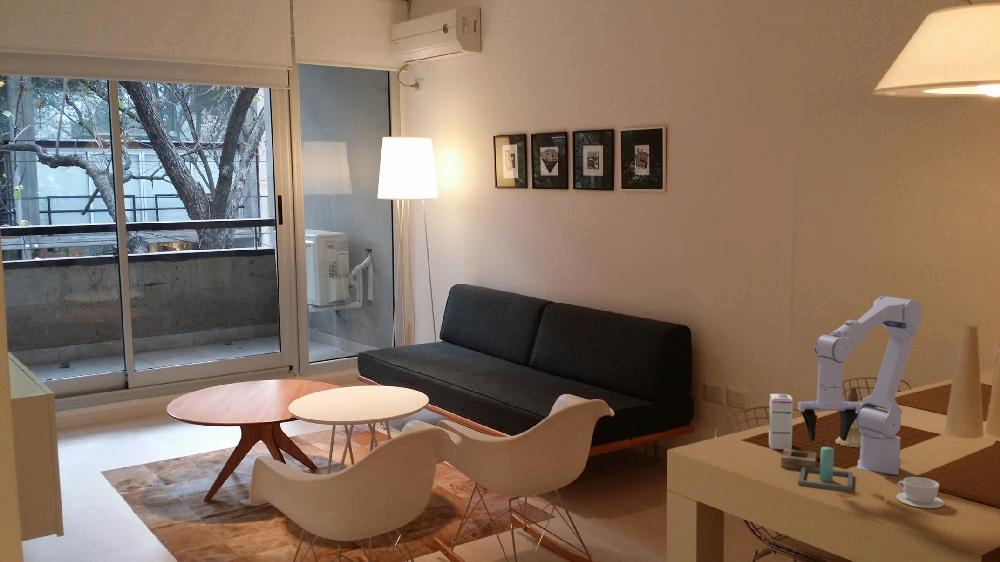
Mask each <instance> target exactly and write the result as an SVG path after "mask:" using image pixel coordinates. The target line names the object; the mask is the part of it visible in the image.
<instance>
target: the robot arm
mask: <svg viewBox="0 0 1000 562" xmlns="http://www.w3.org/2000/svg"><path fill="white" fill-rule="evenodd" d="M922 317H923V309H922V307H921V303H920V302H919V301H918V300H917V299H912V298H911V299H909V298H908V299H907V298H901V297H893V296H888V295H885V294H884V295H881V296H879V297H878V298H876V299H874V300H873V304H872V307H871V308H870V309H869V310H868V311H866V312H865V313H864V314H863V315H862V316H861V317H860V318H858V319H857V320H853V319H847V320H845V321H844V324H843V325H841V326H840V327H838V328H837V329H835V330H833V331H832V332H831V333H830V334H829V335H828V334H822V335H821V336H819V337H818V338H817V339H816V340H815V343H814V346H813V354H814V355H815V358H816V361H815V362H816V364H817V366H818V367H817V382H816V383H817V385H816V386H817V388H816V400H808V401H807V400H806V401H797V410H798V411H799V412H800V413H801V415H802V417H803V420H804V422H805V425H806V429H807V435H808V440H810V441H812V442H814V441H815V440H816V425H817V419H818V415H817V414H816V412H819V411H821V412H825V411H826V412H827V411H828V412H829V411H831V412H834V411H837V412H839V417H840V418H839V419H840V426H839V436H840V439H842V440H843V441H846V439H847V435H848V432H849V430H850V428H851V426H852V424H853V422H854V421H855V424H856V426H857V427H858V428H859V432H861V447H860V448H859V449H860V450H859V459H858V460H857V469H858V470H861V471H862V470H863V471H868V472H869V471H870V472H876V473H877V472H880V473H883V474H888V475H896V476H899V474H900V471H899V470H900V466H901V458H900V456H901V455H900V453H901V436H897V434H898V432H899V431H900V429H901V426H902V425H901V424H902V420H901V418H902V413H903V410H902V408H901V407H900V405H899V404H898V403H897V401H896V396H897V394H898V393H897V392H898V390H899V387H900V384H901V381H902V378H903V374H904V370H905V367H906V364H907V361H908V357H909V354H910V350H911V347H912V344H913V340H914V337H915V335H917V333H918V330H919V328H920V327H919V326H920V323H921V320H922ZM879 325H882V327H883V328H884V330H886V331H887V332H888V334H889V339H888V343H887V346H886V349H885V353H884V356H883V360H882V363H881V365H880V368H879V372H878V375H877V378H876V382H875V385H874V387H873V392H872V393H871V394H868V395H867V396H865V397H863V398H862V400H861V402H859V401H858V402H850V401H848V400H843V389H844V388H843V386H844V385H843V384H844V383H843V381H844V368H845V367H844V365H845V361H846V360H848V359H849V357H850V353H851V352H852V351H853V350H854V349H853V348H855V347H856V346H857V345H859V344H861V343H862V342H863V341H865V340H866V339H867V333H868V332H869V331H871V330H873V329H874V328H876V327H877V326H879ZM815 411H816V412H815Z"/></svg>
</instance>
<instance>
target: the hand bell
mask: <svg viewBox="0 0 1000 562" xmlns="http://www.w3.org/2000/svg"><path fill="white" fill-rule="evenodd" d="M847 401H850V402H858V403H859V394H858V392H857V387H855V386H851V387H850V389H849V392H848V395H847ZM834 443H835V444H836V445H838V444H840V445H839V446H841V445H842V446H841V447H844V446H847V447H846V448H851V447H855V448H856V449H860V448H859V447H861V432H859V428H858V427H857V426H856V424H855V421H854V422H853V424H852V426H851V428H850V430H849V432H848V435H847V439H846V441H843V440H842V439H840V435H839V437H837V438H836V439H835V441H834ZM855 448H854V449H855Z"/></svg>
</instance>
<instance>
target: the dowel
mask: <svg viewBox="0 0 1000 562" xmlns="http://www.w3.org/2000/svg"><path fill="white" fill-rule="evenodd" d="M819 458H820V461H819V468H820V473H819V478H818V479H819V480H818V481H819V482H821V483H832V482H833V481H834V480H833V479H834V477H833V476H834V475H833V470H834V461H835V460H834V458H835V448H833V447H830V446H822V447H820V457H819Z"/></svg>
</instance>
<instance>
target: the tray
mask: <svg viewBox="0 0 1000 562" xmlns="http://www.w3.org/2000/svg"><path fill="white" fill-rule="evenodd" d="M806 472H807V473H808V472H809V473H815V474H816V473H817V474H820V467H816V466H815V467H807V466H802V468H801V469H800V473H799V476H798V482H797V483H798V484H797V485H798V486H805V487H812V488H818V489H825V490H826V489H827V490H832V491H833V490H835V491H842V492H849V493H852V492H853V479H854V472H853V471H846V470H845V471H844V470H838V469H833V476H840V477H848V478H847V485H841V484H835V483H829V482H821V481H819V482H818V481H812V480H805V476H806Z"/></svg>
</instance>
